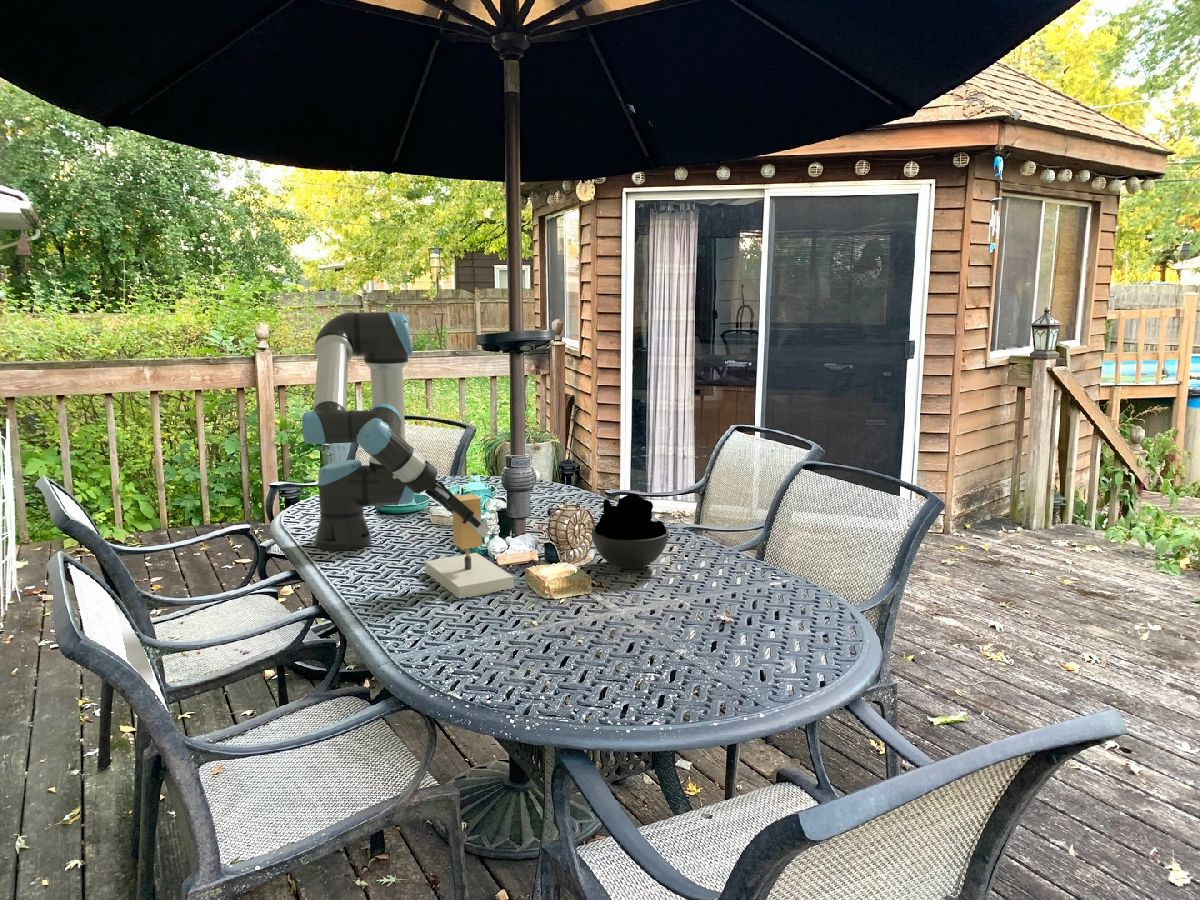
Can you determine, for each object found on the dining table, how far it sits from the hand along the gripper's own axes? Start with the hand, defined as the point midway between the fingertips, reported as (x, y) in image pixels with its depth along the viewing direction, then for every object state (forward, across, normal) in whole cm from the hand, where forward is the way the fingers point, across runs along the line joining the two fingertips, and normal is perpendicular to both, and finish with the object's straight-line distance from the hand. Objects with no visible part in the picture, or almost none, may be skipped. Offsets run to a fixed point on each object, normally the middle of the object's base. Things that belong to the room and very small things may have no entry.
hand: (481, 529), depth 203 cm
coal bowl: (+35, +12, +17) cm, 40 cm away
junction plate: (+6, 0, -11) cm, 13 cm away
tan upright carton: (0, 0, -5) cm, 5 cm away
